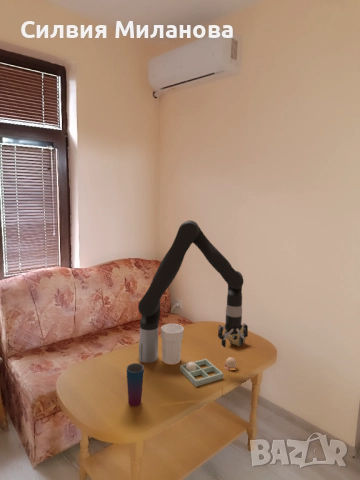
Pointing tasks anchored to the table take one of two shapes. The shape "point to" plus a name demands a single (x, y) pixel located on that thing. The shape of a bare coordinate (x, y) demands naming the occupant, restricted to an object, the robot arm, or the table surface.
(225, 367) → the egg cup
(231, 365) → the brown egg
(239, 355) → the table surface
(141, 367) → the cup
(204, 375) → the egg tray
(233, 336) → the yellow toy animal head
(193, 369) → the cream egg
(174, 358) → the cup
